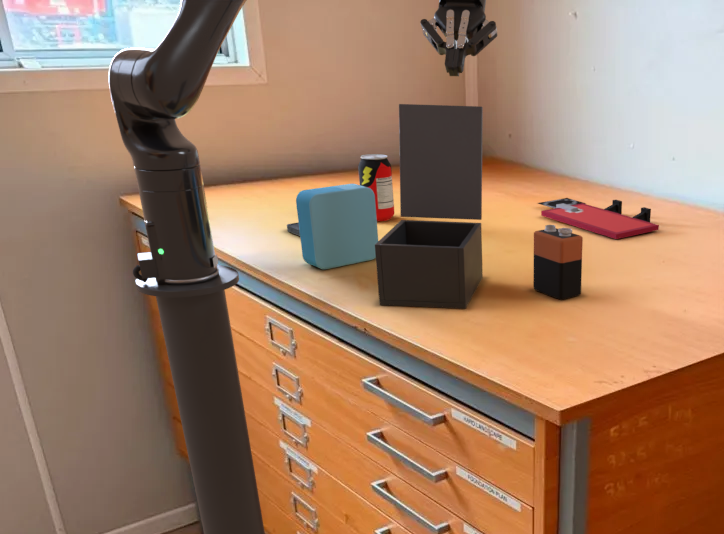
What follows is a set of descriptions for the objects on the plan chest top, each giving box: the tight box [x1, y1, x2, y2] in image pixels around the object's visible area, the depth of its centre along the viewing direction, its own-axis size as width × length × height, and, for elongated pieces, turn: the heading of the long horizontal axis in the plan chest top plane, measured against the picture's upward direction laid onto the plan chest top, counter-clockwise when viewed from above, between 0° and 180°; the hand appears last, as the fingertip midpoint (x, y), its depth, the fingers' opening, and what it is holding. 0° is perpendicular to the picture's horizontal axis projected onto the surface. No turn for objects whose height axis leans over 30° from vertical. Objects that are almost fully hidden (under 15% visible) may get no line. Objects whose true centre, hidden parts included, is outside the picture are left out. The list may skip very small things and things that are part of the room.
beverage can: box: [357, 153, 395, 222], centre depth 171 cm, size 6×6×12 cm
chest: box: [375, 219, 484, 310], centre depth 131 cm, size 16×13×9 cm
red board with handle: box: [537, 197, 660, 240], centre depth 177 cm, size 30×3×15 cm
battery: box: [533, 224, 584, 301], centre depth 131 cm, size 4×7×10 cm, turn 41°
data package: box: [295, 183, 379, 270], centre depth 143 cm, size 12×4×12 cm, turn 135°
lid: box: [398, 103, 484, 221], centre depth 133 cm, size 16×13×1 cm
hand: (453, 72), depth 139 cm, fingers closed
